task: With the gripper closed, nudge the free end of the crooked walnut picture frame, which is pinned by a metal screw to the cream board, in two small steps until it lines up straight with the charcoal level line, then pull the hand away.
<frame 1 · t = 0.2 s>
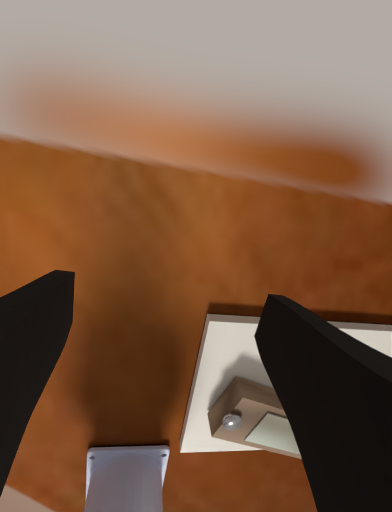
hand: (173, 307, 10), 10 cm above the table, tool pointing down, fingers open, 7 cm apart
frame: (288, 426, 26), point 3 cm above the table, hinge at -20.0°
wall board: (289, 386, 28), on the table
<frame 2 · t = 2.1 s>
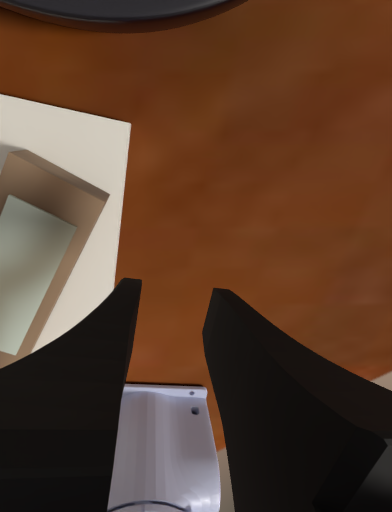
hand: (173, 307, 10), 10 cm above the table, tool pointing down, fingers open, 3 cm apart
frame: (16, 284, 17), point 2 cm above the table, hinge at -20.0°
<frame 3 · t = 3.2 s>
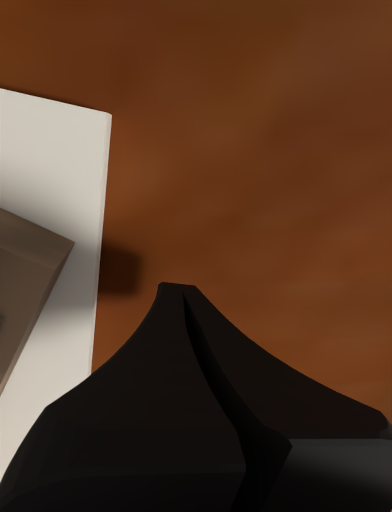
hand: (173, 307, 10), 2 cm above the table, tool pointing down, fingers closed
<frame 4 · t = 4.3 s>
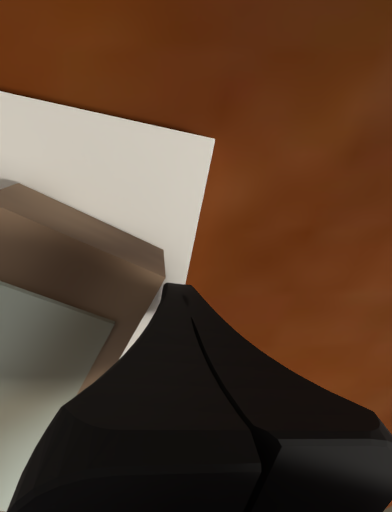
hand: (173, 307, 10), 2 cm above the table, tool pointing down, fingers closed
frame: (10, 405, 10), point 3 cm above the table, hinge at -18.2°, touching gripper
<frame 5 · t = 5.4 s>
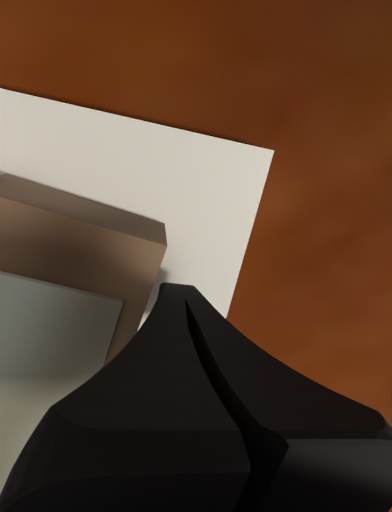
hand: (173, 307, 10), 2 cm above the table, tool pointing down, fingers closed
frame: (38, 400, 10), point 3 cm above the table, hinge at -9.0°, touching gripper
wall board: (33, 347, 12), on the table
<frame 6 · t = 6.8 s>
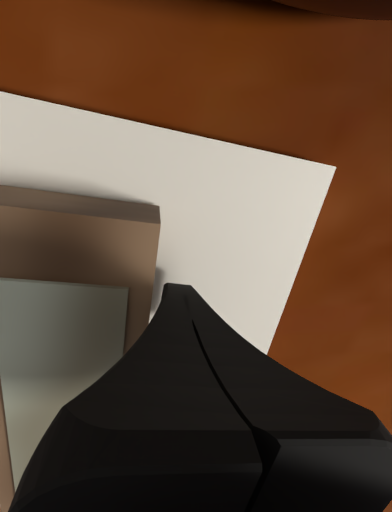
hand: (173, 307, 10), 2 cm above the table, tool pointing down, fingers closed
frame: (71, 400, 11), point 2 cm above the table, hinge at 2.1°, touching gripper
wall board: (92, 351, 13), on the table
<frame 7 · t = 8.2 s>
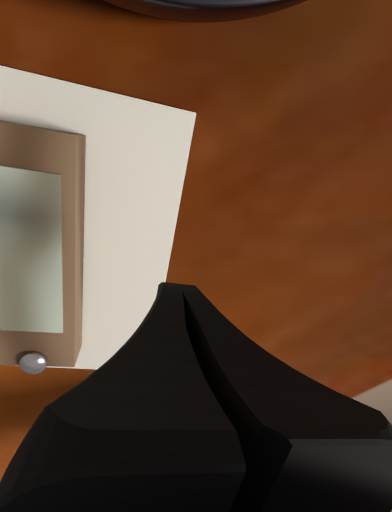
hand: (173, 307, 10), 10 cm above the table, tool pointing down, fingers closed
frame: (35, 262, 17), point 2 cm above the table, hinge at 1.8°
wall board: (52, 245, 19), on the table
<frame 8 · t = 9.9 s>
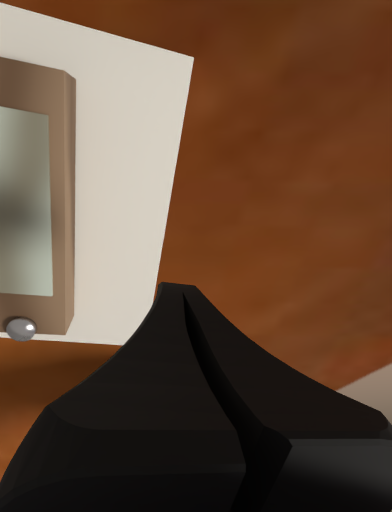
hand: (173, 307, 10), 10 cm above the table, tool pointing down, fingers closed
frame: (22, 218, 16), point 3 cm above the table, hinge at 1.8°
wall board: (42, 206, 18), on the table
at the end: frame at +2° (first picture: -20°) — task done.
